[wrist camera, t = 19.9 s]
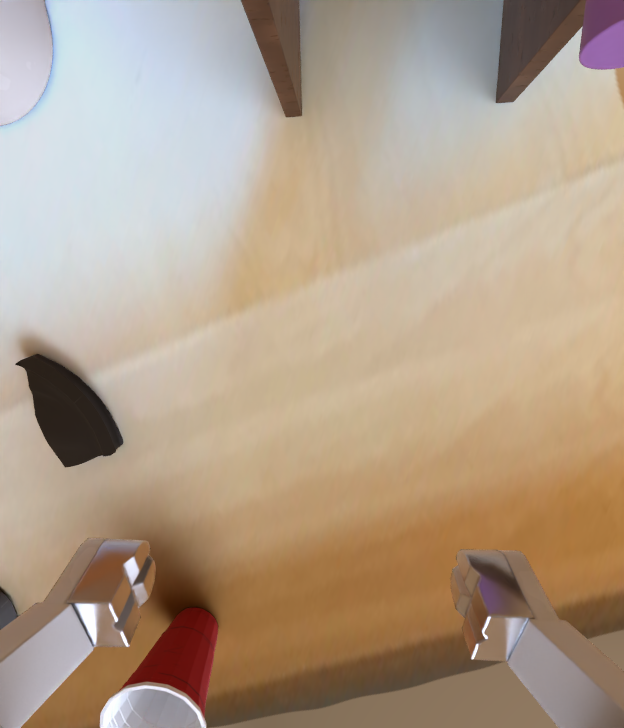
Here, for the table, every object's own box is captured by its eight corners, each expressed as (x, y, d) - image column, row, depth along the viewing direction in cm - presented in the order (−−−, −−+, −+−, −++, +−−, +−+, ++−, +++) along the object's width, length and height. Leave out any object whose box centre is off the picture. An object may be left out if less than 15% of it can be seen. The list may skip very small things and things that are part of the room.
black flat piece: (73, 338, 41) (62, 341, 39) (127, 446, 43) (118, 452, 41) (14, 363, 42) (1, 366, 41) (69, 466, 44) (59, 472, 43)
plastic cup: (253, 645, 48) (222, 762, 36) (184, 666, 50) (134, 784, 38) (213, 578, 46) (168, 679, 34) (144, 603, 48) (78, 707, 36)
